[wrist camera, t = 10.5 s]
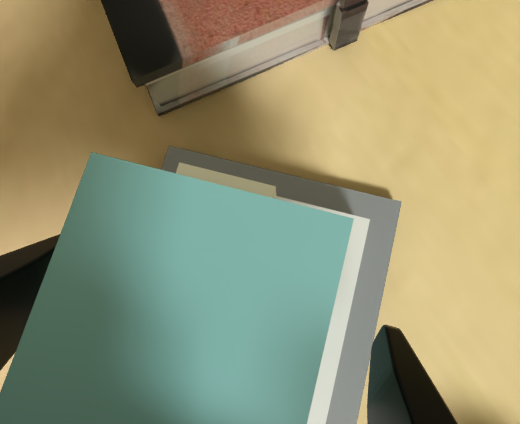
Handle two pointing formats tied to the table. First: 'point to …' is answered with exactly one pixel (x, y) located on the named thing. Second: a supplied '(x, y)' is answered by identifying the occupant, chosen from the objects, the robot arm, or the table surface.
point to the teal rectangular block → (178, 303)
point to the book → (230, 39)
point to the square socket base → (351, 281)
